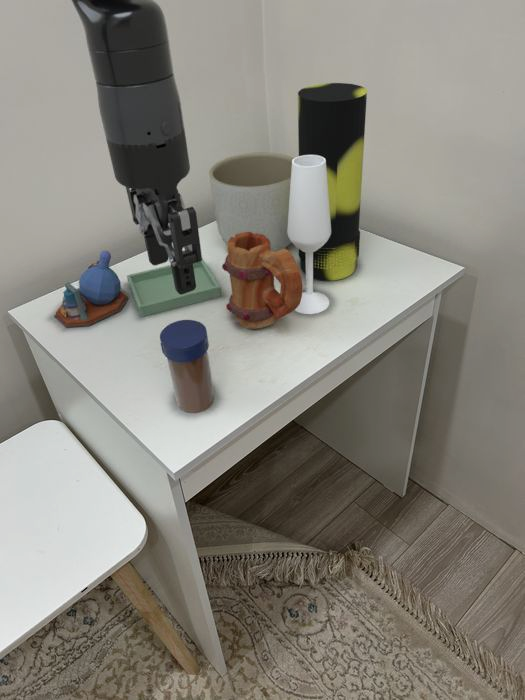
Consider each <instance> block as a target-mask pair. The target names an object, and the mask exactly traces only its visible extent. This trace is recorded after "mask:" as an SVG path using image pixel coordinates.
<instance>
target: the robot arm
mask: <svg viewBox="0 0 525 700" xmlns="http://www.w3.org/2000/svg"><path fill="white" fill-rule="evenodd" d="M71 3H72V5H73V7H74V8H75V11H76V13H77V15H78V17H79V18H80V22H81V24H82V26H83V29H84V33H85V40H86V46H87V51H88V55H89V58H90V63H91V68H92V72H93V75H94V80H95V86H96V92H97V100H98V101H97V103H98V110H99V114H100V119H101V123H102V126H103V127H102V128H103V131H104V136H105V141H106V144H107V149H108V152H109V157H110V161H111V166H112V170H113V174H114V178H115V180H116V181H117V182H118V183H119V184H120V185H121V186H123V187H125V189H126V195H127V199H128V203H129V207H130V212H131V216H132V221H133V223H134V224H135V225H136V226H139V229H138V230H139V232H140V234H141V235H142V236H143V238H144V243H145V249H146V252H147V257H148V262H149V263H150V264H151V265H152V266H154V267H155V266H159V265H161V264H164V263H167V262H169V263H170V265H171V269H172V274H173V279H174V285H175V290H176V291H177V292H178V293H179V294H181V295H182V294H185V293H188V292H190V291H193V290H195V288H196V281H195V275H194V269H193V264H194V263H198V262H200V261H202V258H203V257H202V248H201V240H200V232H199V231H200V230H199V224H198V217H197V211H196V210H195V208H194V206H189V207H187V208H185V203H184V199H183V196H182V195H181V193H180V192H179V190H178V185H179V183H180V182H181V181H182V180H183V179H185V178H186V177H187V176H188V175H189V174H190V170H191V165H190V157H189V151H188V150H189V149H188V143H187V137H186V129H185V123H184V115H183V108H182V102H181V97H180V94H179V89H178V85H177V83H176V78H175V73H174V66H173V60H172V59H173V58H172V53H171V52H172V51H171V46H170V40H169V39H170V38H169V33H168V26H167V22H166V17H165V14H164V11H163V10H162V8H161V6H160V5H159V4H158V3H157V1H154V0H71ZM169 231H170V234H165V233H166V232H169ZM164 232H165V233H164ZM183 249H184V250H183Z"/></svg>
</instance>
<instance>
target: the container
mask: <svg viewBox="0 0 525 700" xmlns="http://www.w3.org/2000/svg"><path fill="white" fill-rule="evenodd" d="M367 98H368V90H367V88H366V87H364V86H362V85H359V84H354V83H347V82H346V83H344V82H329V83H326V82H325V83H317V84H313V85H309V86H306V87H303V88H301V89H300V90H298V91H297V124H298V125H297V126H298V127H297V130H298V131H297V133H298V134H297V135H298V157H299V156H303V155H318V156H321V157H324V158H325V160H326V170H327V183H328V196H329V209H330V221H331V235H330V237H329V239H328V241H327V242H326V243H325V244H324V245H323V246H322V247H321V248H319V249H318V250H317V251H315V252H313V280H318V281H323V282H324V281H325V282H331V281H333V282H334V281H339V280H343V279H345V278H348V277H349V276H351V275H353V274H354V272H356V270H357V267H358V266H357V265H358V258H359V255H360V243H361V242H360V239H361V231H360V217H361V203H362V202H361V199H362V197H361V196H362V185H363V184H362V183H363V166H364V150H365V149H364V148H365V133H366V116H367V101H368V100H367ZM298 257H299V262H300V263H299V264H300V265H299V266H300V267H299V268H300V271H301V272H302V273H303V274H304V275H306V252H303V251H302V250H300V249H299V248H298Z"/></svg>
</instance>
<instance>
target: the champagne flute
mask: <svg viewBox="0 0 525 700" xmlns="http://www.w3.org/2000/svg"><path fill="white" fill-rule="evenodd" d="M293 158H294V159H293V160H292V169H291V184H290V198H289V213H288V228H287V234H288V237H289V239H290V240H291V244H293V246H295V248H297V249H298V250H299V249H300V250H302V251H303V252H306V274H305V291H302V298H301V302H300V304H299V306H298V307H297V308H296V309H295V310H294V312H296V313H299V314H304V315H313V314H314V315H315V314H319V313H321V312H324V311H325V310H326V309H328V308H329V306H330V299H329V298H328V297H327V296H326V295H325V294H323V293H321V292H318V291H314V278H313V252H315V251H317V250H318V249H319V248H321V247H322V246H323V245H324V244H325V243H326V242H327V241H328V239H329V237H330V235H331V221H330V209H329V196H328V183H327V170H326V160H325V158H324V157H321V156H318V155H303V156H299V155H298V156H296V157H293Z"/></svg>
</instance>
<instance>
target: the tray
mask: <svg viewBox="0 0 525 700" xmlns="http://www.w3.org/2000/svg"><path fill="white" fill-rule="evenodd" d="M193 269H194V275H195V281H196V288H195V290H193V291H190V292H188V293H185V294H182V295H181V294H179V293H178V292H177V291H176V290H175V285H174V279H173V274H172V269H171V264H168V265H165V266H160V267H156V268H152V269H148V270H147V269H146V270H143V271H139V272H136V273H131V274H127V275H126V280H127V284H128V286H129V289H130V292H131V294H132V295H131V296H132V297H133V299H134V302H135V305H136V308H137V311H138V313H139V316H140V318H143V317H147V316H150V315H155V314H158V313H162V312H166V311H170V310H174V309H178V308H182V307H185V306H190V305H192V304H197V303H201V302H204V301H209V300H212V299H217V298H219V297H222V290H221V286H220V284H219V282H218V281H217V280H216V278H215V276H214V275H213V273H212V271H211V269H210V268H209V266H208V265H207V263H206V262H205V260H204V259H203V257H202V261H200V262H198V263H194V264H193Z"/></svg>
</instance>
